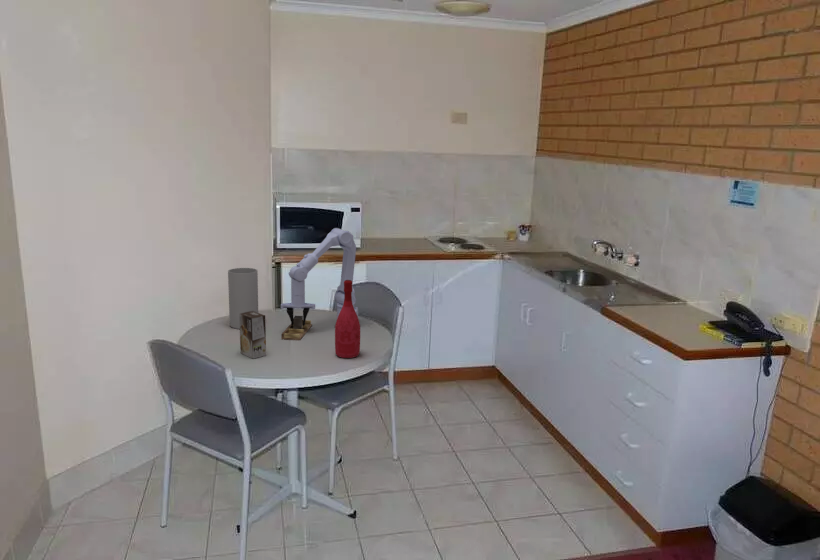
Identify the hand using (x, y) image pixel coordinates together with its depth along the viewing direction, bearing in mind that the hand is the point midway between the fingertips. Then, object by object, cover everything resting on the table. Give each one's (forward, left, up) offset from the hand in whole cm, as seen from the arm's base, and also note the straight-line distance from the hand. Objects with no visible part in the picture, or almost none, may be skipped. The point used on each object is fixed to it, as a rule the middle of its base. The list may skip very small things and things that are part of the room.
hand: (298, 324), depth 273 cm
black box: (0, 0, -3) cm, 3 cm away
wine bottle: (-26, +26, -4) cm, 37 cm away
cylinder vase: (+26, -6, -4) cm, 27 cm away
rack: (0, 0, -3) cm, 3 cm away
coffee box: (+10, +31, -4) cm, 33 cm away
